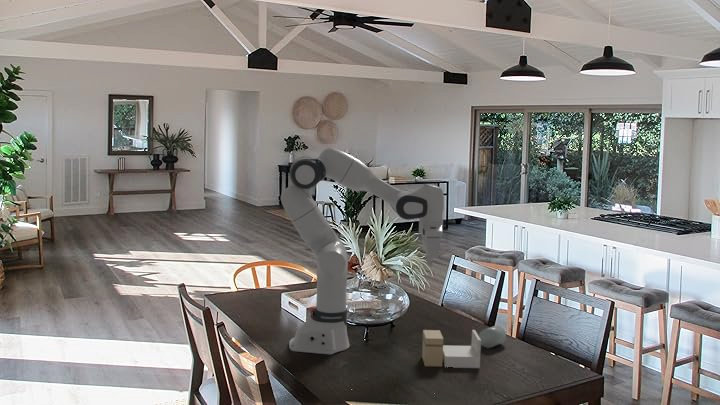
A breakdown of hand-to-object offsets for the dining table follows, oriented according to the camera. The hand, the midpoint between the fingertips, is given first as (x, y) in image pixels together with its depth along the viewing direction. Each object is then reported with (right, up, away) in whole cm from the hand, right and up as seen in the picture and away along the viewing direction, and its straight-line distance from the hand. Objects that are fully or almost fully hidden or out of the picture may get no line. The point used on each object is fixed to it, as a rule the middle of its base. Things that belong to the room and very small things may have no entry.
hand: (429, 265), depth 243 cm
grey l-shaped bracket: (+9, -33, -12) cm, 36 cm away
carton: (+3, -28, -12) cm, 31 cm away
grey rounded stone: (+22, -28, +3) cm, 36 cm away
